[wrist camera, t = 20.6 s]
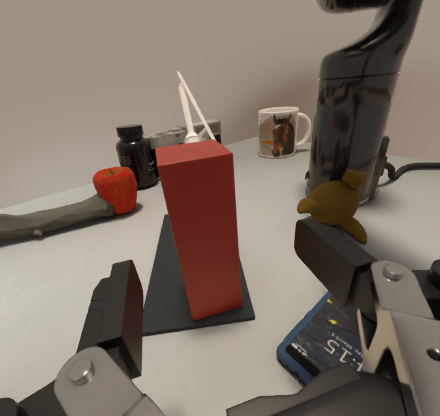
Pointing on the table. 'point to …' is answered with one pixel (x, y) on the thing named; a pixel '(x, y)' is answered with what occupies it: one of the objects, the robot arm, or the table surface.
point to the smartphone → (323, 340)
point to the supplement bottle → (136, 154)
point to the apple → (117, 188)
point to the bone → (53, 218)
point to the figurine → (337, 203)
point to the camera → (182, 136)
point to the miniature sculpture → (191, 134)
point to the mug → (280, 131)
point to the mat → (180, 294)
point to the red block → (203, 223)
